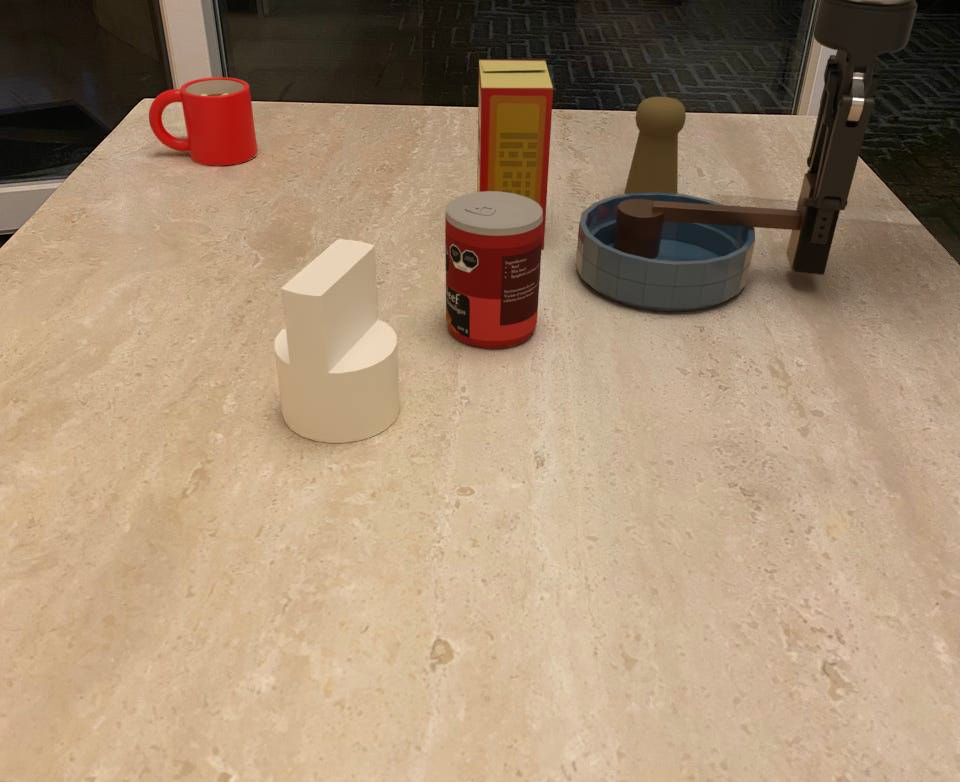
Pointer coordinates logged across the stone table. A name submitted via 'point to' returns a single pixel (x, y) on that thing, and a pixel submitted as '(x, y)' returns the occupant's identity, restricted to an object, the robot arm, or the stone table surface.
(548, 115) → the baking soda box
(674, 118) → the cork
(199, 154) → the mug
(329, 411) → the base with upright slab
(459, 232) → the canned food
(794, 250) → the wooden mallet
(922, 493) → the stone table surface
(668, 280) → the bowl
